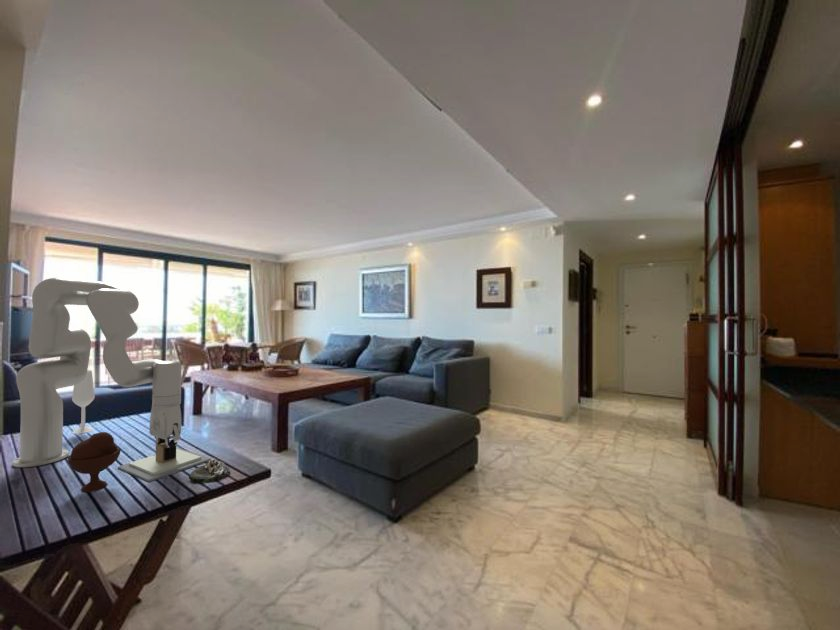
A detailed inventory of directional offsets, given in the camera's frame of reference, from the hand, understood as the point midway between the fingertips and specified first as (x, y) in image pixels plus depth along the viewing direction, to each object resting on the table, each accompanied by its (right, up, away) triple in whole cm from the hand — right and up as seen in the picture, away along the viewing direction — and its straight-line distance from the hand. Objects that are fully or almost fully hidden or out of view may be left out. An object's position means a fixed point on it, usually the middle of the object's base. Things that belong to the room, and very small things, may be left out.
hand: (165, 456), depth 116 cm
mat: (0, -2, 0) cm, 2 cm away
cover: (0, -2, 0) cm, 2 cm away
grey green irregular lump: (+18, -3, -7) cm, 19 cm away
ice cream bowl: (-9, -2, -16) cm, 18 cm away
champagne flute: (-54, -1, +30) cm, 62 cm away
